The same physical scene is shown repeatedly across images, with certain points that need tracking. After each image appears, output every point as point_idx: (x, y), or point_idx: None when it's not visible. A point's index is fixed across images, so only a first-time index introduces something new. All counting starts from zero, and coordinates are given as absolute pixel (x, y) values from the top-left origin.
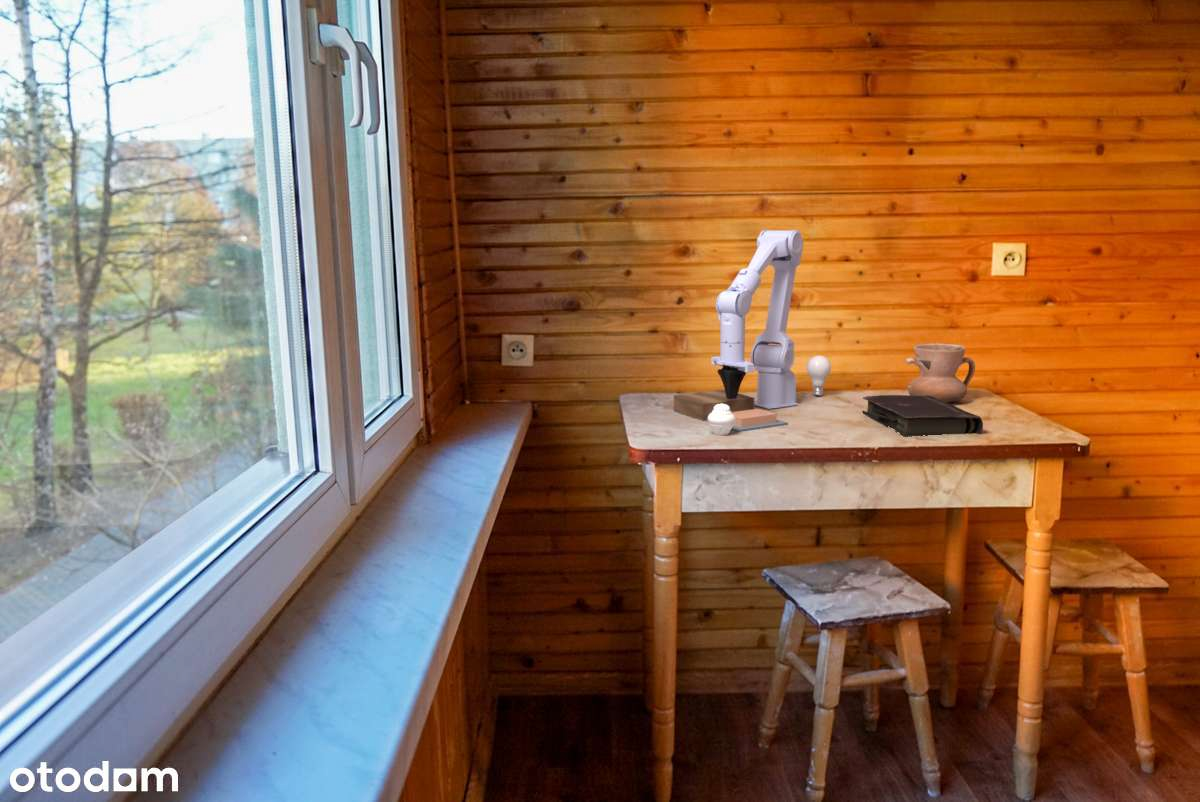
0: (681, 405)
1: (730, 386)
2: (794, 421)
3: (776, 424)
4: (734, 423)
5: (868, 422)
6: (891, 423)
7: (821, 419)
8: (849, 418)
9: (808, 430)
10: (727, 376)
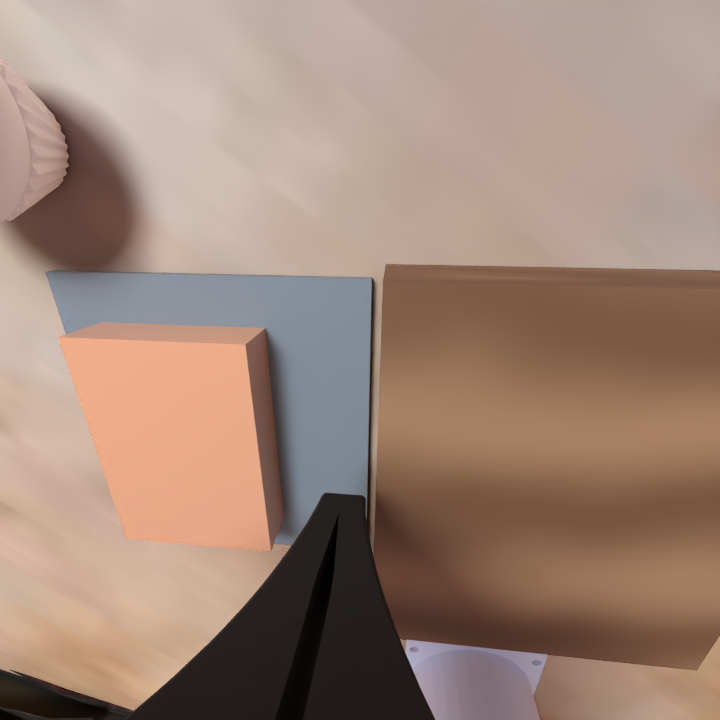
0: (705, 278)
1: (271, 582)
2: (179, 570)
3: None
4: (155, 326)
5: (93, 683)
6: (9, 693)
7: (176, 637)
8: (159, 686)
9: (23, 516)
10: (200, 700)
